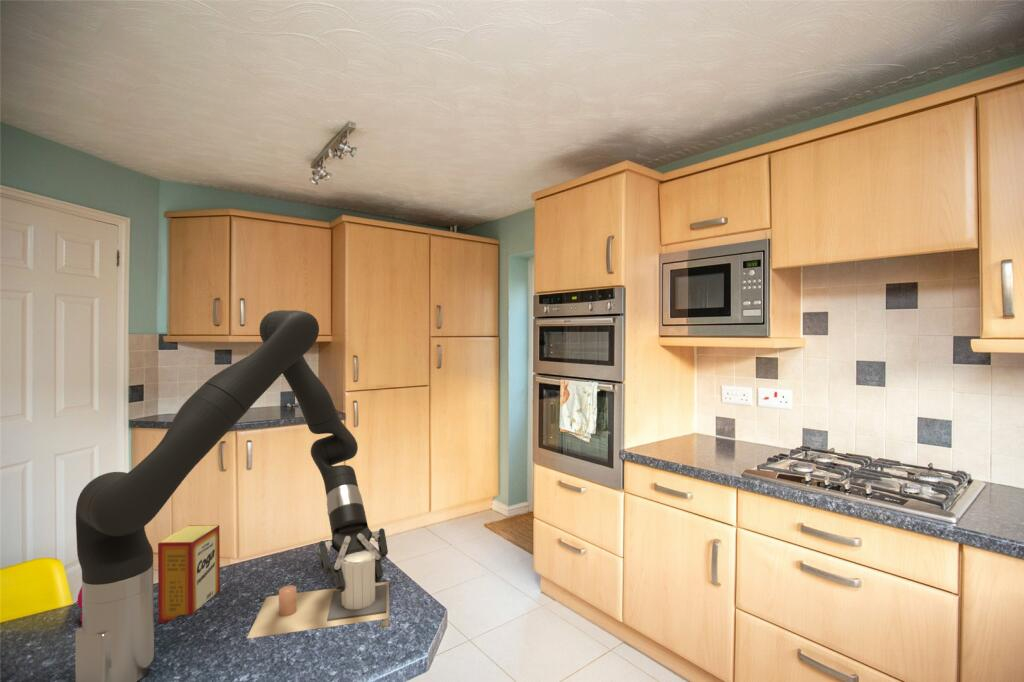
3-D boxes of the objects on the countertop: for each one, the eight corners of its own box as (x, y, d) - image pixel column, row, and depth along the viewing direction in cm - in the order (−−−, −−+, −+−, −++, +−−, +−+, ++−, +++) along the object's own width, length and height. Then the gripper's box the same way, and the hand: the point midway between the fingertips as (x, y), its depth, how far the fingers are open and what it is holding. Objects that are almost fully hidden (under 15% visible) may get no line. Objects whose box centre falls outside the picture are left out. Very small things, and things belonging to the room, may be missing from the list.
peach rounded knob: (288, 617, 95) (288, 594, 95) (275, 615, 96) (275, 592, 96) (300, 608, 98) (299, 586, 98) (286, 606, 99) (286, 584, 99)
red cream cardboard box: (189, 597, 106) (189, 523, 106) (219, 596, 106) (219, 523, 106) (158, 622, 96) (158, 541, 96) (191, 621, 96) (191, 540, 96)
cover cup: (363, 611, 96) (363, 565, 96) (335, 606, 98) (335, 561, 98) (381, 594, 102) (380, 551, 102) (354, 590, 104) (353, 548, 104)
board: (389, 588, 109) (388, 579, 109) (388, 625, 94) (388, 616, 94) (266, 603, 103) (266, 594, 103) (246, 646, 88) (246, 636, 88)
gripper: (314, 508, 103) (326, 587, 93) (381, 496, 110) (399, 568, 100) (309, 525, 107) (321, 603, 97) (374, 513, 115) (391, 583, 105)
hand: (360, 585), depth 99 cm, fingers closed on cover cup, 6 cm apart
